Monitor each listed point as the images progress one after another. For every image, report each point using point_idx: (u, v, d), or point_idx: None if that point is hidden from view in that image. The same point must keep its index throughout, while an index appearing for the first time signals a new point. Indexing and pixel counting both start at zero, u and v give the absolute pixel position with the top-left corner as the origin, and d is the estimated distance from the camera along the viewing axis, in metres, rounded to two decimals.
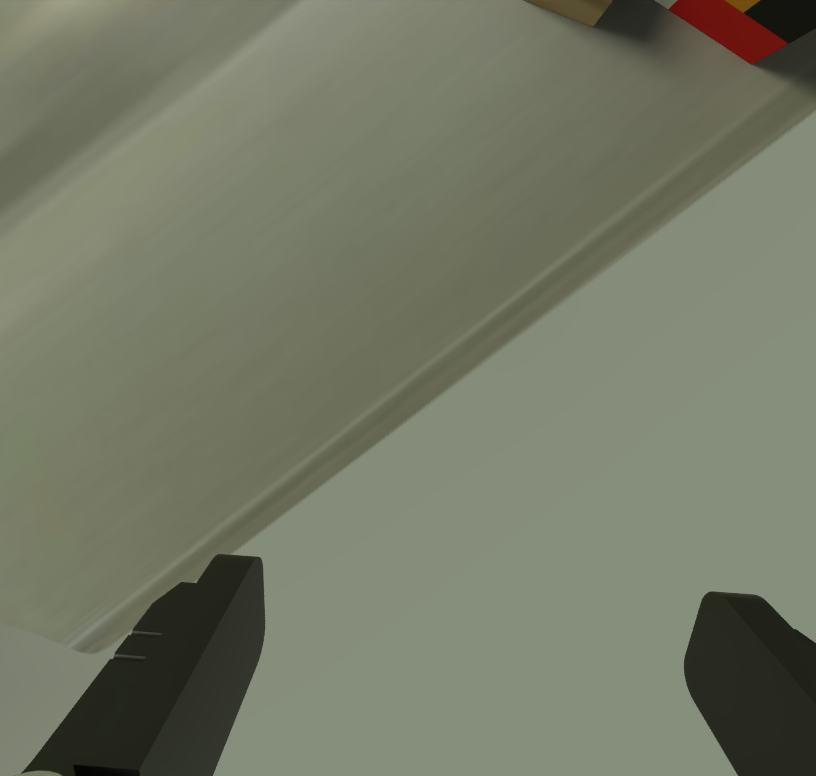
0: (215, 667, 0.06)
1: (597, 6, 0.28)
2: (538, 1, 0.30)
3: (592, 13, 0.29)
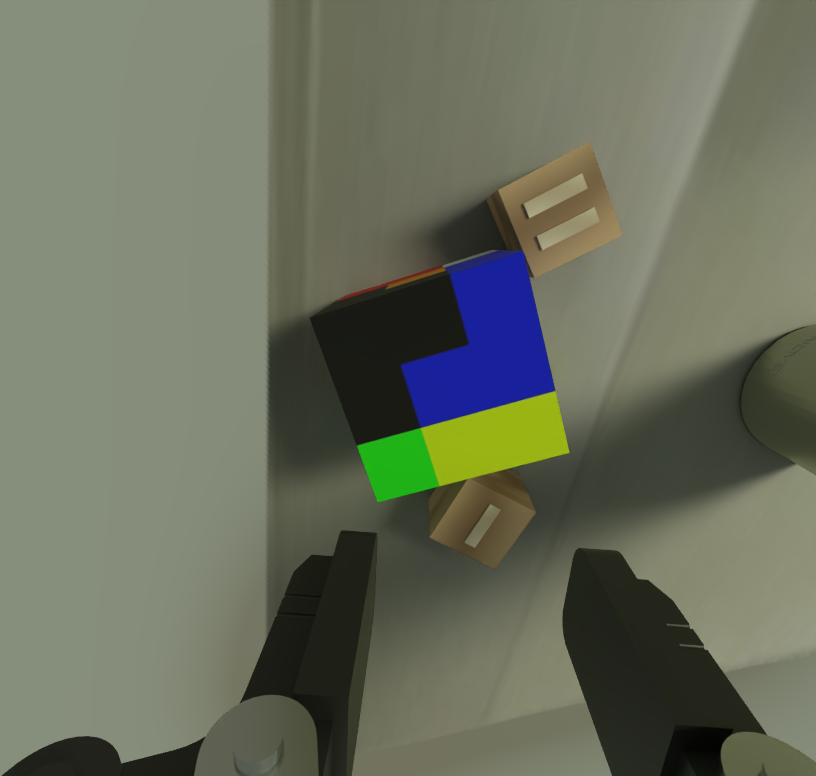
0: (364, 625, 0.07)
1: None
2: None
3: None
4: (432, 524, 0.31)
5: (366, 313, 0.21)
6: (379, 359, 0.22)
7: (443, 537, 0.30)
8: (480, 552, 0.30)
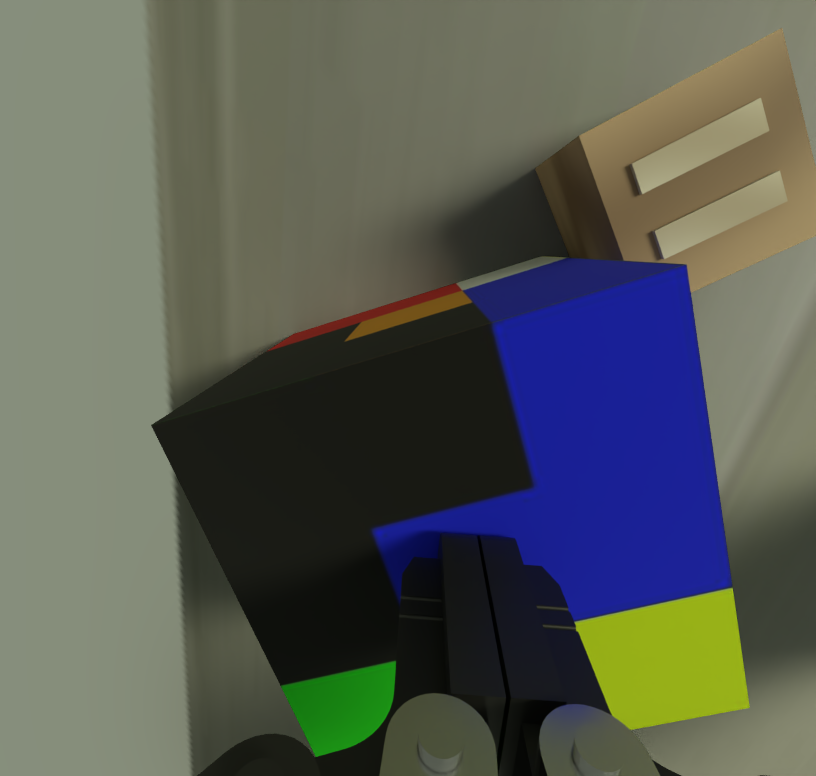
0: None
1: None
2: None
3: None
4: None
5: (286, 416, 0.09)
6: (321, 518, 0.09)
7: None
8: None
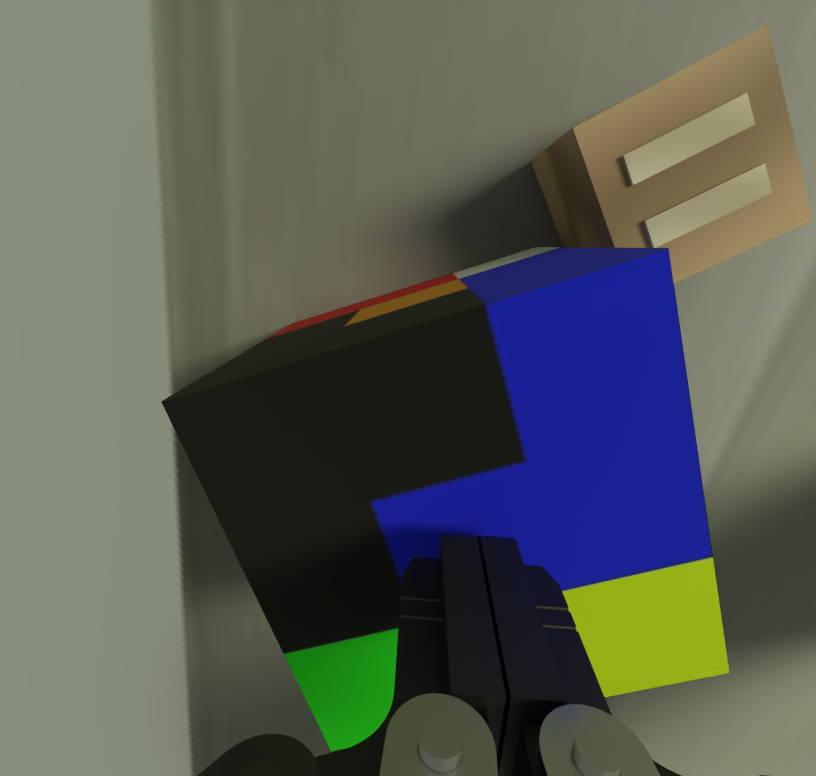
0: None
1: None
2: None
3: None
4: None
5: (291, 393, 0.09)
6: (322, 491, 0.10)
7: None
8: None
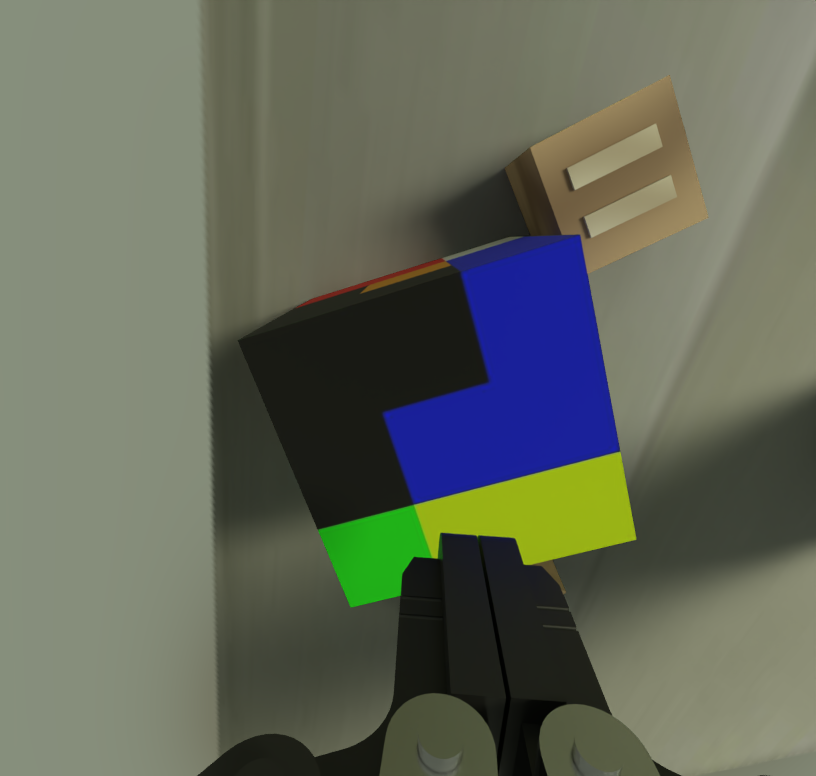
0: None
1: None
2: None
3: None
4: None
5: (328, 334, 0.13)
6: (349, 405, 0.14)
7: None
8: None
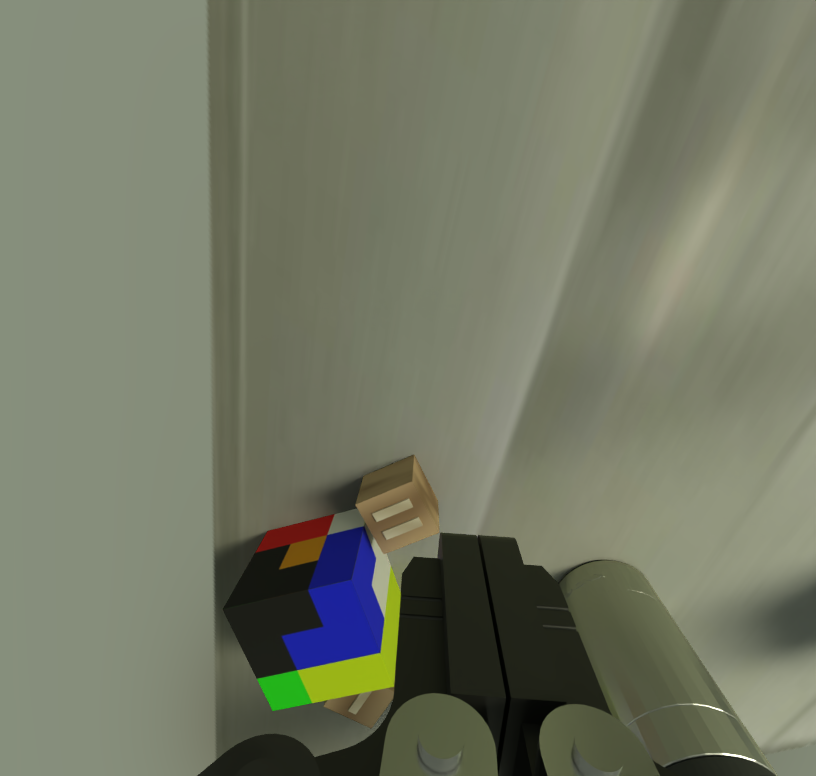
0: None
1: (365, 486, 0.39)
2: (403, 461, 0.40)
3: (367, 481, 0.40)
4: None
5: (258, 608, 0.34)
6: (267, 633, 0.34)
7: (333, 706, 0.43)
8: (360, 717, 0.43)
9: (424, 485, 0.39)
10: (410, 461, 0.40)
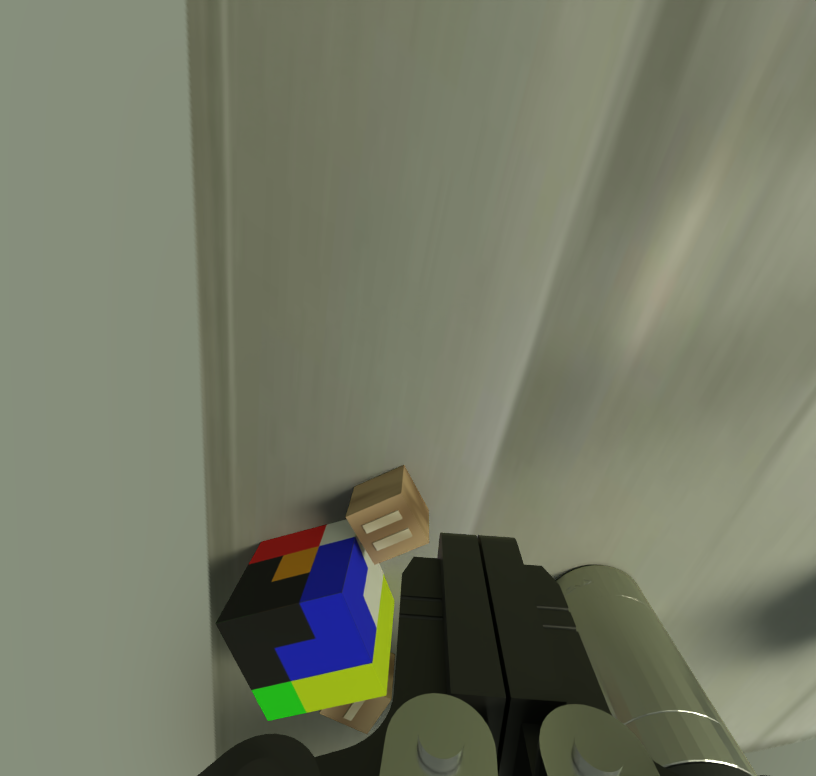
0: None
1: (356, 497, 0.39)
2: (393, 472, 0.41)
3: (357, 492, 0.40)
4: None
5: (250, 621, 0.34)
6: (260, 645, 0.35)
7: (329, 713, 0.43)
8: (355, 723, 0.43)
9: (414, 495, 0.40)
10: (400, 471, 0.40)
